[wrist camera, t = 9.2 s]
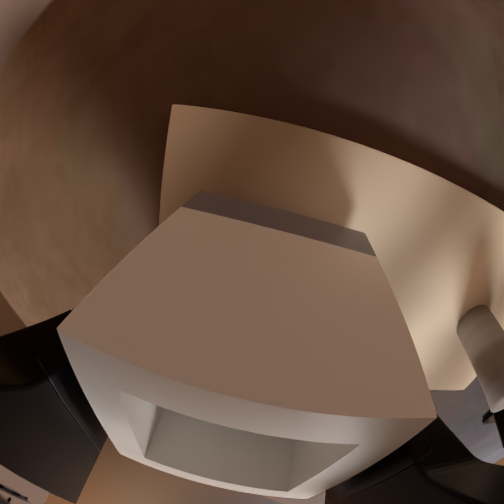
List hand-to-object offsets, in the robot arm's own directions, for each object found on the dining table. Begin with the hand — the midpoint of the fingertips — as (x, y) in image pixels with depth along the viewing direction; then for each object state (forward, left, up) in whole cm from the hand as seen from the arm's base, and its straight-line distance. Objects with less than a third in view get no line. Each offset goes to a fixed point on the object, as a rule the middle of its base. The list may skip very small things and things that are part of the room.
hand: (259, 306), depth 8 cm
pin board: (-5, 0, -3) cm, 6 cm away
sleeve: (0, 0, -1) cm, 1 cm away
